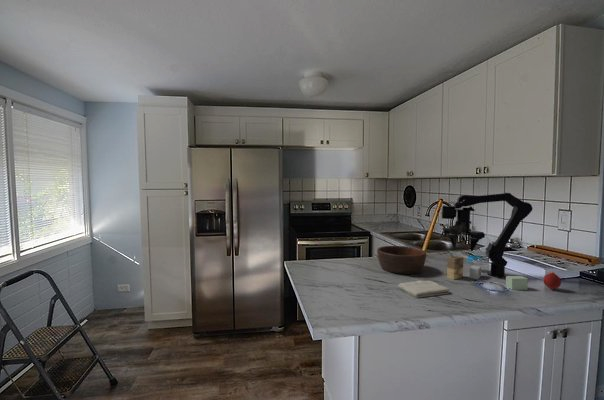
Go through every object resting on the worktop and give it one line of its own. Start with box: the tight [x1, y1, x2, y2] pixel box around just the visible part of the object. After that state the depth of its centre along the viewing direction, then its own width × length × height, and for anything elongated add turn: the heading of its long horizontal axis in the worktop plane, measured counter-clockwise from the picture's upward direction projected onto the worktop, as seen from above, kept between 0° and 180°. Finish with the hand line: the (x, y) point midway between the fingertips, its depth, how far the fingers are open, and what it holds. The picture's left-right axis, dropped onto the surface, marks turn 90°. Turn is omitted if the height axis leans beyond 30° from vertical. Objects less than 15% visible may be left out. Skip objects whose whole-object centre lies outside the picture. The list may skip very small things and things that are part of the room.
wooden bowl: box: [376, 245, 427, 275], centre depth 156 cm, size 25×25×10 cm
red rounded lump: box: [542, 271, 562, 291], centre depth 125 cm, size 6×6×8 cm
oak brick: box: [446, 267, 464, 280], centre depth 141 cm, size 7×4×5 cm, turn 118°
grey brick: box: [469, 264, 482, 280], centre depth 142 cm, size 7×4×5 cm, turn 138°
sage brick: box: [505, 275, 529, 291], centre depth 126 cm, size 7×4×5 cm, turn 93°
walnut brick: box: [446, 255, 464, 269], centre depth 141 cm, size 7×4×5 cm, turn 118°
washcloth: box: [397, 279, 450, 299], centre depth 123 cm, size 12×18×3 cm, turn 109°
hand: (462, 249), depth 150 cm, fingers open, 9 cm apart
